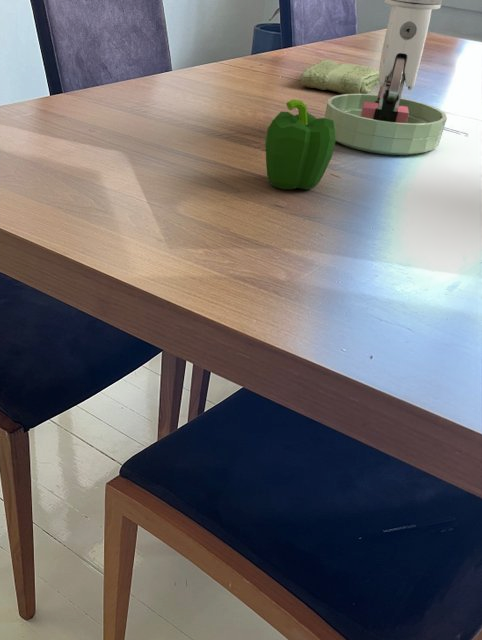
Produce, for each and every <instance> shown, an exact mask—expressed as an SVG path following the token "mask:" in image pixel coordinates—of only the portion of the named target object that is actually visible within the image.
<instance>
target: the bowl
mask: <svg viewBox="0 0 482 640" xmlns="http://www.w3.org/2000/svg"><path fill="white" fill-rule="evenodd" d="M377 98H378V94H376V93H375V94H373V93H370V94H369V93H364V94H338V95H334V96H332V97H329V98H328V99H327V102H326V108H325V113H324V117H323V118H326V119H330V120H333V121H334V127H335V136H336V143H339V144H341V145H342V146H345V147H349V148H352V149H355V150H359V151H363V152H367V153H374V154H381V155H389V156H390V155H391V156H408V155H409V156H410V155H418V154H421V153H426V152H431V151H434V150H436V148H438V147H439V146H440V143H441V138H442V136H443V133H444V129H445V125H446V122H447V119H448V117H447V114H446V112H444V111H443V110H441V109H439V108H437V107H435V106H433V105H430V104H428V103H423V102H421V101H417V100H413V99H409V98H403V97H401V98H400V102H399V106H406V107H408V111H409V115H408V119H407V122H406V123H395V122H387V121H380V120H374V119H369V118H364V117H360V116H361V111H362V107H363V103H364V101H365V102H373V103H375V101H377Z"/></svg>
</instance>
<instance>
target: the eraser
mask: <svg viewBox="0 0 482 640" xmlns="http://www.w3.org/2000/svg"><path fill="white" fill-rule="evenodd" d="M378 105H379V103H373V102H365V101H364V103H363V107H362V111H361V116H360V117H364V118H369V119H373V117H374V113H375V109H376V108H378ZM397 111H398V114H397V118H396V122H395V123H406V122H407V119H408V115H409V111H408V107H406V106H398V110H397Z"/></svg>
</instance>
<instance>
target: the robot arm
mask: <svg viewBox="0 0 482 640" xmlns="http://www.w3.org/2000/svg"><path fill="white" fill-rule="evenodd" d="M442 1H443V0H384V1H383V2H384V4H387V5H390V6H391V9H390V14H389V18H388V21H387V26H386V31H385V35H384V39H383V45H382V50H381V55H380V61H379V68H378V70H379V82H378V83H379V85H380V86H379V90H378V94H377V95H378V98H377V101H375V103H379V105H378V108H376V109H375V113H374V117H373V119H374V120H380V121H387V122H396V118H397V114H398V111H397V110H398V106H399V102H400V98H402V93H403V90H404V85H405V86H406V87H407V89H408V91H411V90H413V89H414V88H415V85H416V82H417V76H418V73H419V69H420V64H421V61H422V57H423V52H424V48H425V44H426V40H427V37H428V36H427V35H428V31H429V28H430V23H431V22H430V21H431V17H432V10H440V9H441V7H442V3H443V2H442Z"/></svg>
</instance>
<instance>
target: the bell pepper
mask: <svg viewBox="0 0 482 640" xmlns="http://www.w3.org/2000/svg"><path fill="white" fill-rule="evenodd" d="M286 107H287V109H288V110H289V111H293V110H294V109H297V110H298V112H297V113H298V114H293V113H291V112H289V111H283V110H282V111H280V112H279V113H278V114H277V115H276V116H275V117H274V118H273V119H272V120H271V122H270V124H269V126H268V128H267V130H266V137H265V144H264V145H265V163H266V164H265V165H266V177H267V180H268V182H269V184H271V185H272V186H273V187H275V188H278V189H281V190H295V189H299V190H312V189H313V188H315V187H316V186H317V185H318V184H319V183H320V182H321V180H322V178H323V176H324V174H325V173H326V170H327V168H328V167H329V164H330V163H331V159H332V157H333V153H334V150H335V145H336V143H337V141H336V136H335V127H334V121H333V120H330V119H326V118H324V117H319V118H317V117H316V116H314V115H313V114H311V113H309V112H308V109H307V105H306V104H305V103H304V102H303V100H301V99H291V100H289V101H287V102H286Z"/></svg>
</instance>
